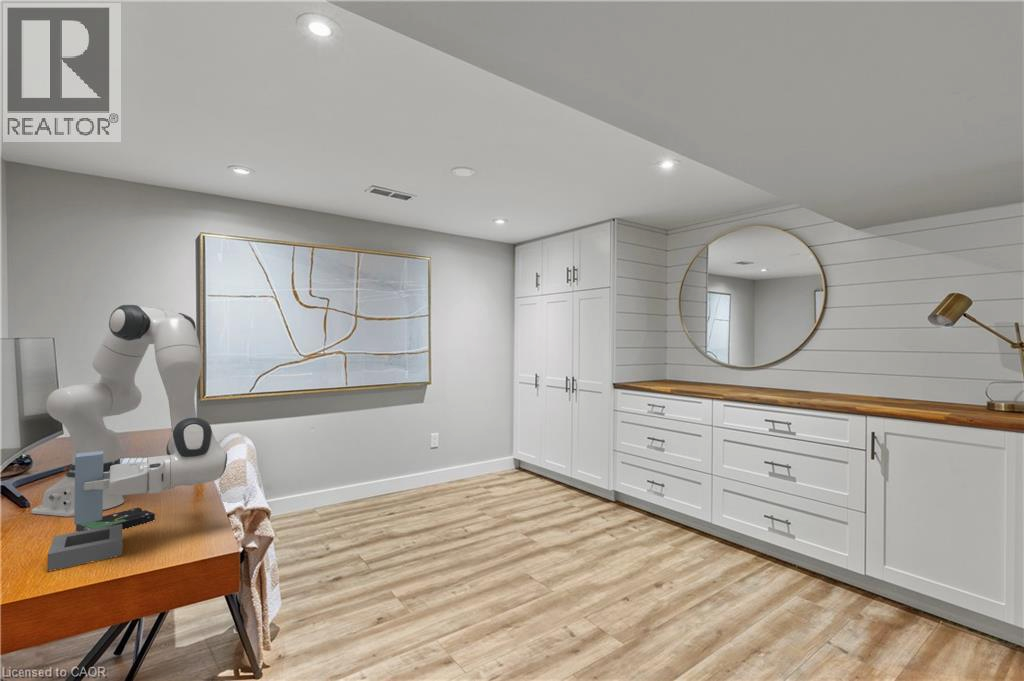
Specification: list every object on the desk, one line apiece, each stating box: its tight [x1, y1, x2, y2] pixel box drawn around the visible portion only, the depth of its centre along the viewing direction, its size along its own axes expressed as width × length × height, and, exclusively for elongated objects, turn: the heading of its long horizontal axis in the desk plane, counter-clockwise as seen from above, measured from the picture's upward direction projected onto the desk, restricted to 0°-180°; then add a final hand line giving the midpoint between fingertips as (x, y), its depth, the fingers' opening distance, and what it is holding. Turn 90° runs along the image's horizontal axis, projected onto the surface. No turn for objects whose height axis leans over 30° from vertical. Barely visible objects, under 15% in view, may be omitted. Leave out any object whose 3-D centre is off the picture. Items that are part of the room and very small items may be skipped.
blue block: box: [73, 451, 104, 526], centre depth 116 cm, size 5×5×16 cm
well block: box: [46, 524, 124, 572], centre depth 115 cm, size 13×13×4 cm
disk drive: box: [75, 507, 156, 532], centre depth 134 cm, size 10×3×15 cm
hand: (84, 483), depth 115 cm, fingers closed on blue block, 5 cm apart
